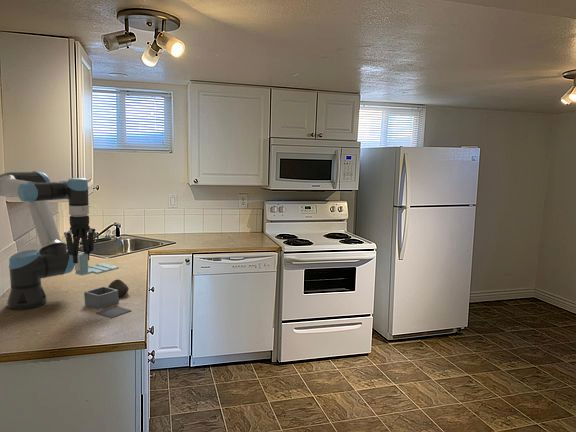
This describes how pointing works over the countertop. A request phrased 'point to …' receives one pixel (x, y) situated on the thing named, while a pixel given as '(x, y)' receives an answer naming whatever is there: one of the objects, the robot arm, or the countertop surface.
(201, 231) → the countertop surface
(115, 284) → the stone
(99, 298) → the tub
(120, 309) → the mat
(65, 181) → the robot arm
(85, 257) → the pale blue ridged block
